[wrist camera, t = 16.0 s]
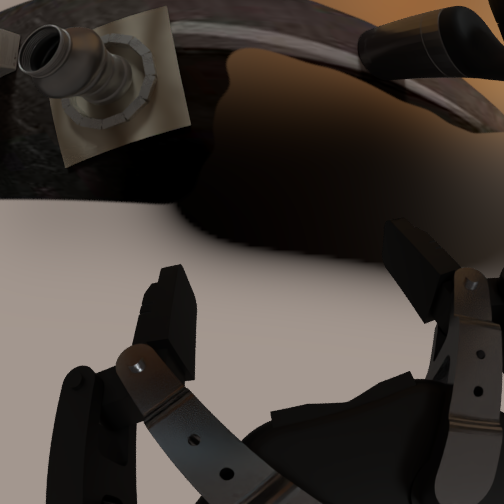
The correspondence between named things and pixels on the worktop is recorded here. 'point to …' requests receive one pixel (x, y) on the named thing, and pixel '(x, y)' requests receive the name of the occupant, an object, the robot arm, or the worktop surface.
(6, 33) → the skincare box
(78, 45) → the plastic bottle
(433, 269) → the robot arm
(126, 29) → the birch board
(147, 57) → the steel collar
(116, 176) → the worktop surface
